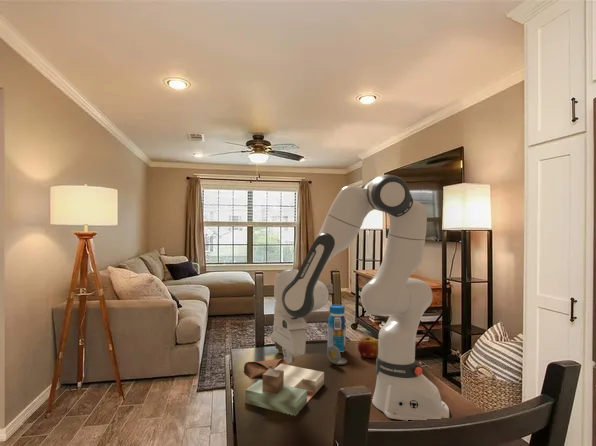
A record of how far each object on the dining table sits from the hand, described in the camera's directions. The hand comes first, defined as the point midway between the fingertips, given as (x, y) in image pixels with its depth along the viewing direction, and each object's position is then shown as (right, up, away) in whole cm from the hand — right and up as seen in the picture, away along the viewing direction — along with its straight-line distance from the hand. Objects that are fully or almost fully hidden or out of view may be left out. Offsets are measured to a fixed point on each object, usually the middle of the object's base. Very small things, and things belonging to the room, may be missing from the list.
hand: (288, 361), depth 112 cm
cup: (-4, -12, +38) cm, 40 cm away
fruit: (+34, -13, +37) cm, 52 cm away
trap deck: (0, -11, +1) cm, 11 cm away
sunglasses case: (-8, -12, +18) cm, 23 cm away
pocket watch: (+19, -12, +28) cm, 36 cm away
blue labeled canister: (+21, -13, +44) cm, 50 cm away
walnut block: (-5, -6, -5) cm, 9 cm away
